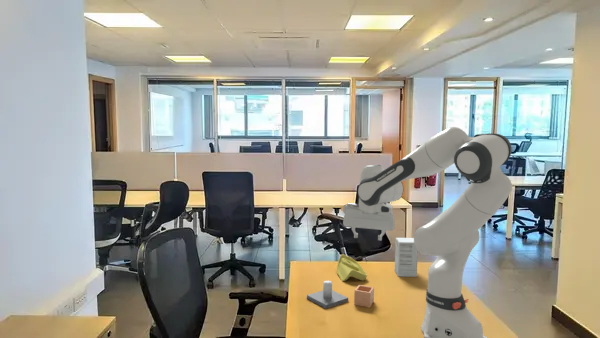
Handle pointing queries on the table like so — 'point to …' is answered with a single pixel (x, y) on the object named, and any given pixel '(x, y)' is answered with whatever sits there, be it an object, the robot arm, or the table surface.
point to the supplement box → (406, 257)
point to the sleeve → (364, 296)
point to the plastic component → (350, 268)
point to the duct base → (328, 300)
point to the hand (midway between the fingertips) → (367, 238)
